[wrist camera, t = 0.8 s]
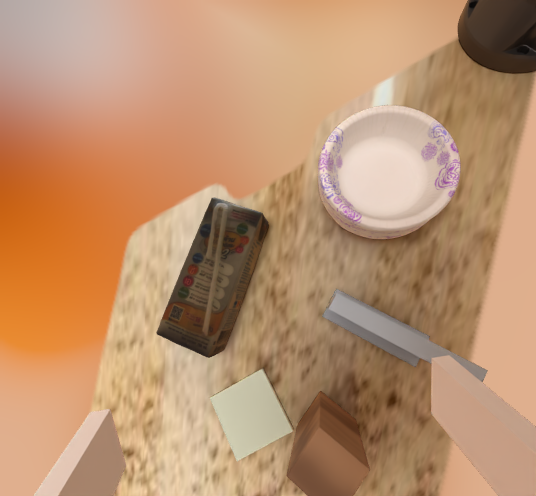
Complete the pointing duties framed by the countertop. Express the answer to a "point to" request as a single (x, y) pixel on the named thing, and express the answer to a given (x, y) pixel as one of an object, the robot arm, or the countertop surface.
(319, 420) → the brown tall rectangular block
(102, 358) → the countertop surface
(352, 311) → the slate panel
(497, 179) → the countertop surface
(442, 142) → the paper bowls
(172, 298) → the beverage carton
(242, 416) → the sage tile
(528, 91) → the countertop surface
